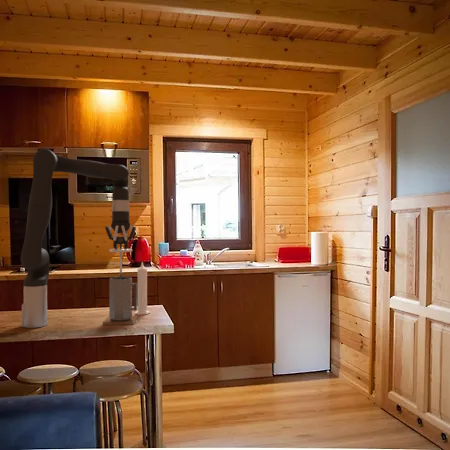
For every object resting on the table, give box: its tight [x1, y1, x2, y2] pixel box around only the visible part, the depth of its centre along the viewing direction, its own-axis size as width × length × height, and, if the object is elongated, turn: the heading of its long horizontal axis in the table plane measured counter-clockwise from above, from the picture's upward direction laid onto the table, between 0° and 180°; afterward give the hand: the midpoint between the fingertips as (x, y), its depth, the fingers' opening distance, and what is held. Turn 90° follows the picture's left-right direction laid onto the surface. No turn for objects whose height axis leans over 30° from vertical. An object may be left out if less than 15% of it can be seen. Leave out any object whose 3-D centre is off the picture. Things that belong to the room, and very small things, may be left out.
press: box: [102, 276, 139, 326], centre depth 194 cm, size 14×13×19 cm
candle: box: [134, 261, 151, 316], centre depth 212 cm, size 7×7×25 cm
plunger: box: [108, 236, 133, 279], centre depth 194 cm, size 10×10×24 cm
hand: (120, 249), depth 194 cm, fingers closed on plunger, 3 cm apart
